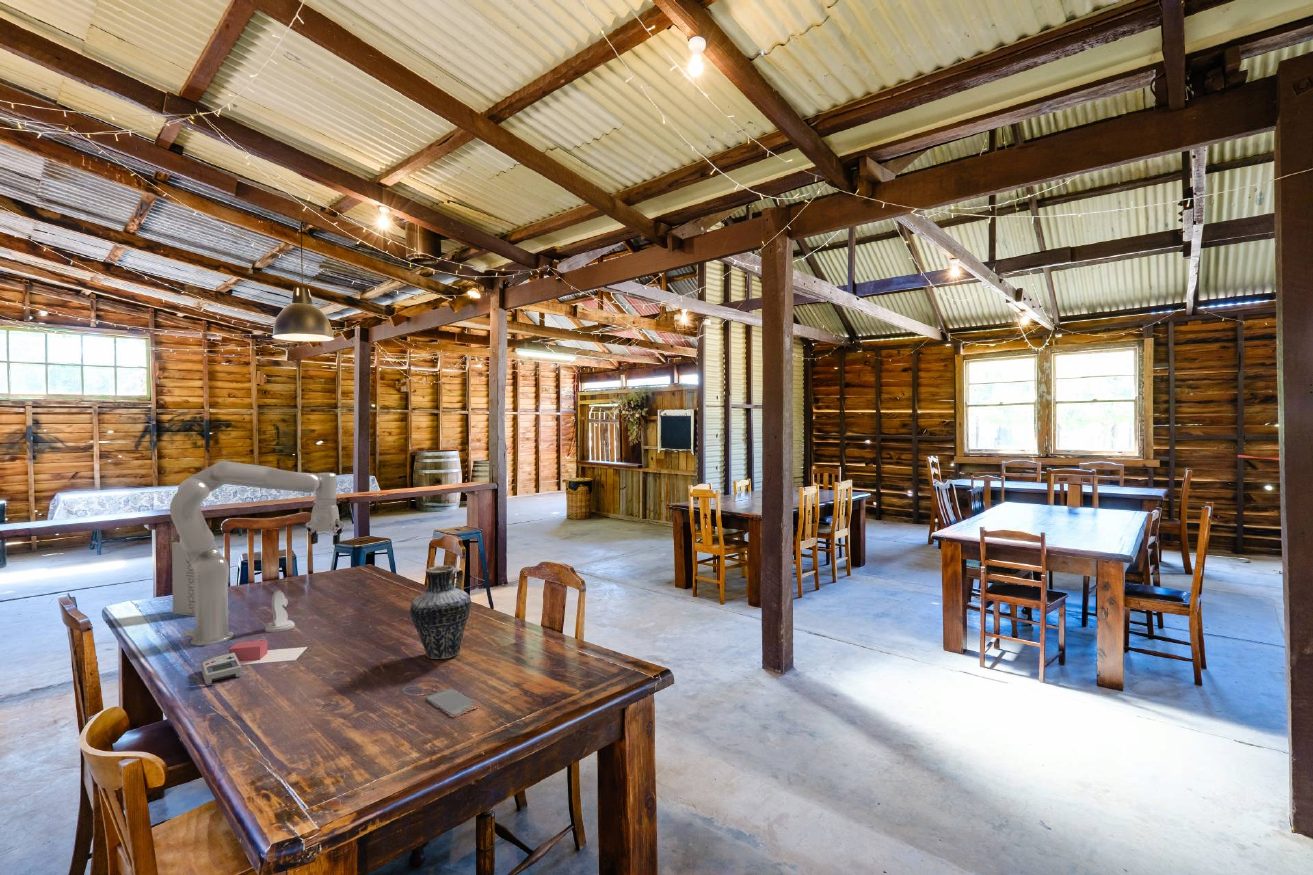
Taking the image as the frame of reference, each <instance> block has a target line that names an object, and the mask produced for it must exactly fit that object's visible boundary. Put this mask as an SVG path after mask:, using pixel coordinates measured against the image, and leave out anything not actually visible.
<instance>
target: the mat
mask: <svg viewBox="0 0 1313 875" xmlns="http://www.w3.org/2000/svg"><path fill="white" fill-rule="evenodd" d="M307 648H308V646H305V647H291V648H278V649H267V654H266V655H265V656H264V657H263V658H262V659H260V660H252V661H240V662H239V663H240V665H241V666H242V665H253V664H255V665H256V664H265V663H276V662H287V661H296V660H297V659H298V658H299V657H301V655H302V654H303V653H304V652H305V650H307Z"/></svg>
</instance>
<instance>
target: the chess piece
mask: <svg viewBox="0 0 1313 875" xmlns="http://www.w3.org/2000/svg"><path fill="white" fill-rule="evenodd" d="M288 604H289V602H288V598H286V596H285V593H284V592H282V591H281V589H280V590H279V589H277V590H275V591H274V593H273V594H272V597H271V610H272V611H271V612H272V614H273V615H272V616H273V617H272V618H273V619H272V622H269V623H268V624H267V625H266V626H265V628H264V631H265V632H267V633H279V632H283V631H284V630H285V631H289V630H291V629H293V628H295V626H296V624H295V622H294V621H293V620H290V619H288V618H289V617H288V616H289V615H288V612H287V610H285V608H284V607H287V605H288ZM285 631H284V632H285Z"/></svg>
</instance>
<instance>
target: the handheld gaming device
mask: <svg viewBox="0 0 1313 875" xmlns="http://www.w3.org/2000/svg"><path fill="white" fill-rule="evenodd" d="M200 668H201V673H202V677H203V679H204V683H205V685H211V684H213V681H217V680H220V679H226V678H230V677H233V676H235V678H239V677H242V673H243V672H242V671H243V670H242V665H240V663H239V661H238V659H237V657H236V655H235V653H230V654H229V653H227V654H223V655H218V656H215V657H210V658H207V659H206V660H204V661H203V662H202V663H201V667H200Z"/></svg>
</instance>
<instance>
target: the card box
mask: <svg viewBox="0 0 1313 875" xmlns="http://www.w3.org/2000/svg"><path fill="white" fill-rule="evenodd" d="M267 650H268V639H267V640H266V639H265V640H253V641H241V642H239V641H238V642H236V643H235V644H233V645H232V646H231V647H230V648H229V649H228V651H229V652H228V654H230V653H235V655H236V657H237V659H238V661H239V662H240V661H252V660H260V659H262V658H263V657H264V656H265V655H266V654H267Z"/></svg>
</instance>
